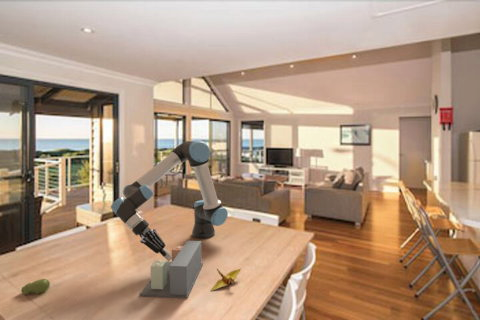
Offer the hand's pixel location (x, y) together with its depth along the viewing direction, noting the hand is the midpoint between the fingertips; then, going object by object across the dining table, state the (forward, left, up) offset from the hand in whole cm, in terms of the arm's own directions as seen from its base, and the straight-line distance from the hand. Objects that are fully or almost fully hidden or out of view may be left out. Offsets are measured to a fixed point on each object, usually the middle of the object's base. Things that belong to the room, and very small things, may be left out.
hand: (171, 259), depth 125 cm
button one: (+3, +3, -4) cm, 6 cm away
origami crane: (+28, +12, -6) cm, 31 cm away
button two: (+11, -12, -4) cm, 16 cm away
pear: (-22, -50, -6) cm, 55 cm away
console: (+9, -3, -5) cm, 11 cm away
